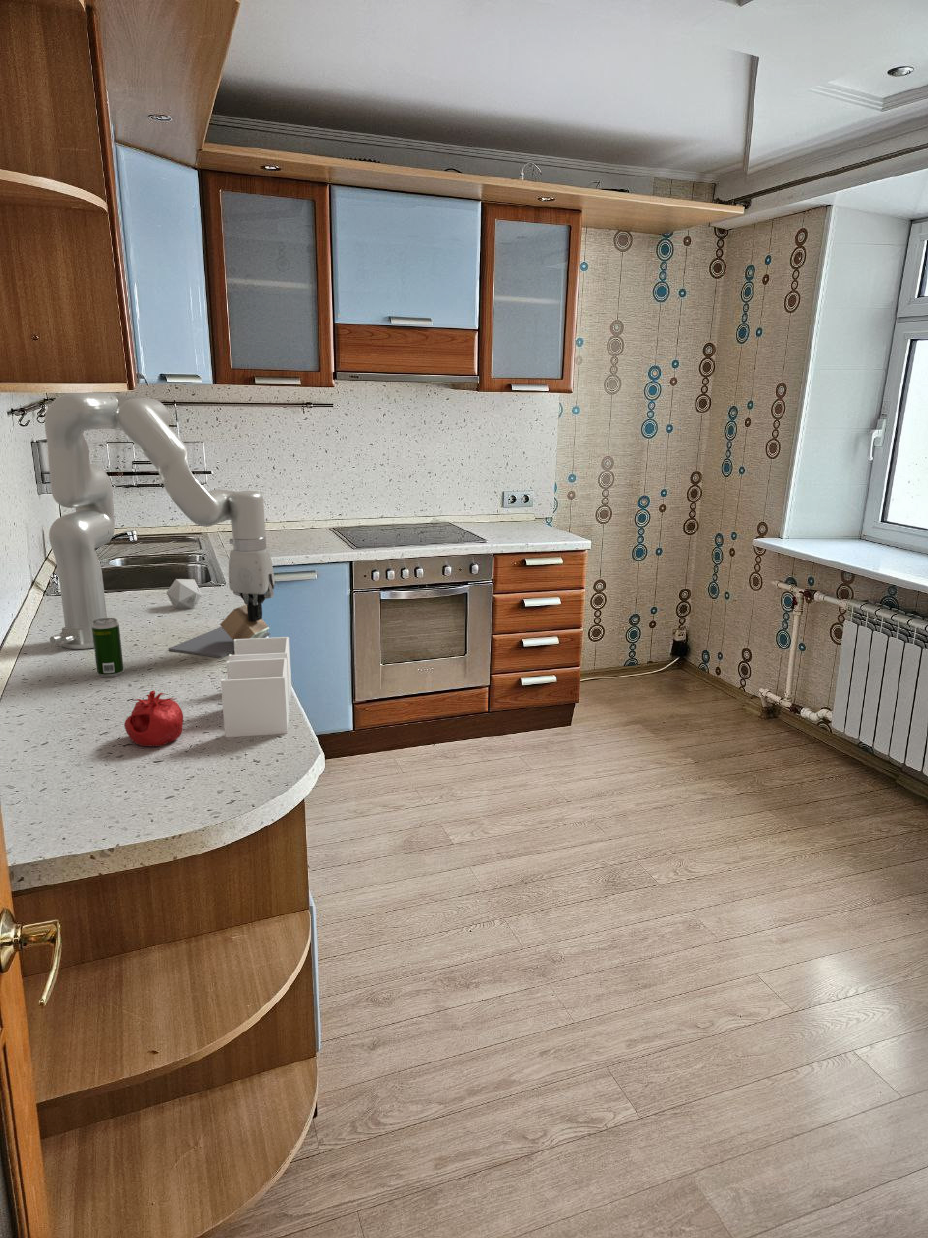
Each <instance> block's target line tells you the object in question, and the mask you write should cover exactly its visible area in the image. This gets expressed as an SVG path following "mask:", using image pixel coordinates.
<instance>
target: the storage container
mask: <svg viewBox="0 0 928 1238" xmlns="http://www.w3.org/2000/svg"><path fill="white" fill-rule="evenodd" d="M233 653H234V654H233ZM233 653H231V654H228V660H227V661H226V672H227V673H226V674H227V679H224V678H221V680H220V686H221V687H220V688H221V699H222V711H223V714H222V715H223V726H224V737H225V738H234V737H235V738H236V737H237V738H238V737H249V736H252V737H255V736H267V735H268V736H270V735H283V734H289V733H288V732H289V723H290V721H289V720H290V705H291V696H292V695H291V694H292V676H291V675H292V674H291V672H292V671H291V655H290V653H291V652H290V637H289V636H282V637H265V638H253V639H234V652H233Z"/></svg>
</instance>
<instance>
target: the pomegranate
mask: <svg viewBox="0 0 928 1238" xmlns="http://www.w3.org/2000/svg"><path fill="white" fill-rule="evenodd" d="M162 695H165V693H164V692H160V693H158V694H157V695H156V691H155V690H151V691H150V692H149V693H148V694H146V695H145V696H146V697H147V698H145V699H141V698H137V699H134V700H133V699H131V702H133V701H134V702H135V701H136V703H135V706H134V707H133V709H132V711H131V714H130V716H128V717H127V718H126V719H125V721H124V724H123V726H124V727H123V728H124V730H125V732H126V734H127V735H128V738H129V740H131V741H132V742H134V743H135V744H137V745H139V746H143V747H162V746H165V745H166V744H168V743H171V742H174V741H176V740H178V738H180V736H181V735H182V732H183V725H184V724H183V722H184V713H183V711H182V709H181V707H180V704H178V703H177V702H176V701H175V700H177V699H178V698H177V697H176V698H173V697H170V698H160V697H161V696H162Z"/></svg>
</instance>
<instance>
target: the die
mask: <svg viewBox="0 0 928 1238" xmlns="http://www.w3.org/2000/svg"><path fill="white" fill-rule="evenodd" d="M165 593H166V595H167V597H168V599H169V601H170V603H171V605H172V606H173V608H174V609H175V610H194V609H195V607H196V605H197V604H198V603H199V601H200V600H201V598H202V597H203V594H202V592H201V589H200V588H199V586H198V584H197V582H196V580H195V579H194V578H192V579H191V578H190V579H189V578H188V579H187V578H175V579H174V581H173V583H172V584H171V586H170V587H169V588H168V590H167V591H166V592H165Z"/></svg>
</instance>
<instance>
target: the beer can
mask: <svg viewBox="0 0 928 1238" xmlns="http://www.w3.org/2000/svg"><path fill="white" fill-rule="evenodd" d="M92 624H93V625H92V635H93V643H94V648H93V650H94V656H95V658H94V659H95V667H96V668H95V669H96V673H97V674H98V676H99V677H101V678H114V677H117V676H120V675H122V674H123V672H124V660H123V659H124V658H123V652H122V642H121V634H120V632H121V631H120V624H119V622H118V618H114V617H107V618H101V619H96V620H94V621H92Z"/></svg>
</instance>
